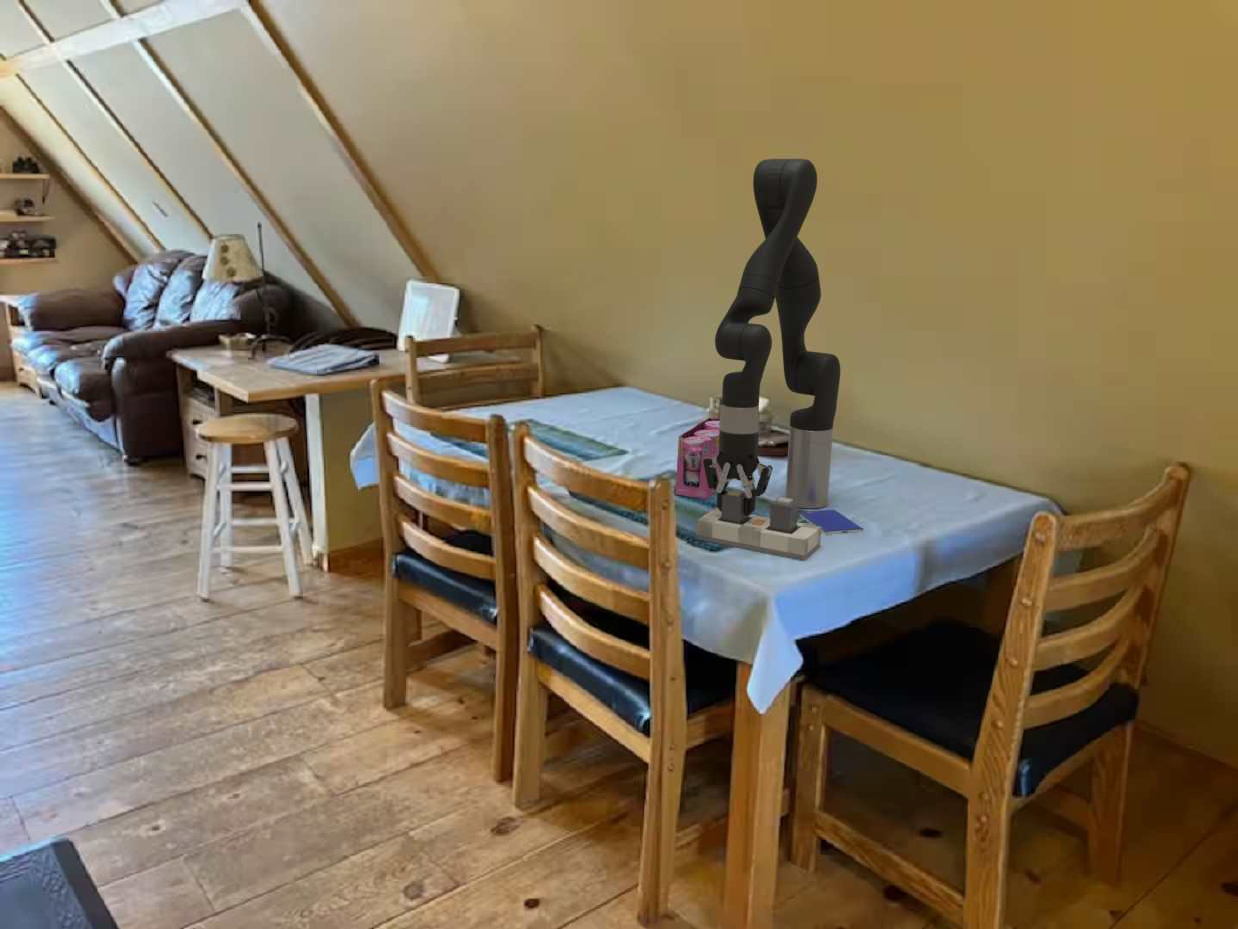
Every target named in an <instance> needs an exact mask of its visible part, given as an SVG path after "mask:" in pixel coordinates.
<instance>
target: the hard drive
mask: <svg viewBox="0 0 1238 929" xmlns="http://www.w3.org/2000/svg"><path fill="white" fill-rule="evenodd" d="M799 517H800V518H801V517H802V519H803V520H804V521H805V522H807V523H808V522H809V523H808V524H809V525H814V526H820V527H821V534H824V535H825V536H833V535H832V534H838V535H849V534H850V533H851V534H859V533H858V532H863V533H864V528H863V527H862V526H859V525H858V524H857V523H855V522H853V521H852V520H850V519H849V518H848V517H846V516H845V515H843V514H842V513H840V512H839V511H838V510H836V509H821V510H820V509H819V510H810V511H808V510H807V511H801V512H800V513H799ZM851 534H850V535H851Z"/></svg>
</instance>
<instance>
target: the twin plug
mask: <svg viewBox="0 0 1238 929" xmlns="http://www.w3.org/2000/svg"><path fill="white" fill-rule="evenodd" d="M798 503H799V502H797V501H793V499H789V498H785V497H779V498H777V499H776V500H774V501H773V502H772V503H770V512H769V513H770V514H769V516H770V529H769V530H772V531H777V532H782V533H788V534H793V533H794V532H795V531H796V530H797V522H798V515H799V507H798Z"/></svg>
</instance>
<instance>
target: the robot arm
mask: <svg viewBox="0 0 1238 929" xmlns="http://www.w3.org/2000/svg"><path fill="white" fill-rule="evenodd" d="M817 185H818V174H817V170H816V167H815V165H814V164H813V162H812V161H810V159H806V158H769V159H763V160H760V162H759V163H757V165H756V166H755V168H754V172H753V180H752V187H753V190H752V191H753V195H754V200H755V204H756V208H757V213H758V216H759V220H760V223H761V227H762V231H763V235H764V240H763V241H762V242H761V244H759V246H758V247H757V248H756V249H755V250H754V251H753V253H752V254H751V256H750V257H749V259H748V260H747V262H746V263H745V265H744V266H745V267H744V268H743V272H742V276H741V279H740V283H739V286H738V289H737V290H738V291H737V293H736V297H735V298H734V300H733V302H732V303H731V304H730V307H729V308H728V310H727V312H726V313H725V315H724V316H723V318H722V320H721V322H720V324H719V326H718V328H717V330H716V332H715V336H714V345H715V350H716V352H717V354H718V355H719V356H720V357H721V358H724V359H726V360H727V359H728V360H733V361H734V360H735V361H740V362H741V361H742V362H744V366H743V368H742V369H741V371H733V372H730V373H727V374H725V375H724V377H723V380H722V388H721V389H722V392H721V393H722V394H721V408H720V412H719V418H720V421H719V426H720V428H719V454H718V456H717V457H712V456H710V457H708V458H706V459H704V461H703V463H704V468H705V473H706V478H707V483H708V487H709V488H710V489H712V488H713V489H714V490H716V508H719V511H722V495H724V494H726V493H728V492H729V491H727V488H728V486H729V484H730V482H731V481H732V480H737V481H739V482H741V486H742V488H743V491H744V493H746V496H747V497H746V498H745V513H744V515H745V516H750V515H751V514H753V513H754V512H755V510H756V497H760V496H762V495H763V494H765V493H766V491H767V489H768V488H767V487H768V484H769V482H770V479H771V476H772V473H773V468H774V467H773V466H772V465H771V464H768V465H765V464H763V463H760V460H759V457H758V456H759V455H758V454H759V437H760V422H761V421H760V420H761V419H760V396H761V395H760V392H761V390H760V389H761V384H762V383H761V382H762V378H763V377H764V372H765V368H766V366H767V363H768V359H769V358H770V354H771V350H772V346H773V338H772V334H771V332H770V330H769V329H768V328H767V327H766V326H765V325H763V324H759V323H749V322H750V321H751V320H752V319H753V318H755V317H758V316H763V315H767V314H769V313H770V312H771V311H772V308H773V306H774V303H775V304H776V308H777V313H778V320H779V328H780V334H781V348H782V362H783V363H782V364H783V365H782V366H783V374H784V381H785V385H786V387H787V389H788V390H789V391H791V392H792V393H795V394H798V395H805V396H814V398H813V404H812V405H811V406H808V407H805V408H800V409H796V410H794V411H792V412H791V413H790V417H789V429H788V430H789V431H788V432H789V433H788V445H787V446H788V450H787V462H786V463H787V465H786V482H785V494H784V495H785V497H784V498H789V499H793V501H797V502H799V503H798V508H802V509H820V508H824V507H826V506H827V505H828V504H829V503H828V500H829V490H830V489H829V488H830V478H831V477H830V476H831V475H830V474H831V463H832V462H831V461H832V449H833V433H834V422H835V421H834V420H835V417H836V412H837V406H838V395H839V388H840V381H841V362H840V360H839V358H838V357H837V356H836V355H835V354H832V353H827V352H818V351H810V350H809V351H808V350H807V348H806V344H805V333H806V329H807V328H808V325H809V323H810V321H811V320H812V317H813V316H814V314H815V312H816V310H817V308H818V306H819V305H820V301H821V298H822V290H821V288H822V287H821V283H820V282H821V281H820V275H819V269H818V264H817V262H816V260H815V259H814V257H813V255H812V254H811V252H810V251H809V250H808V248H807V247H806V246H805V245H804V243H803V242H802V241H801V239H800V238H799V237H798V235H799V234H800V232H801V230H802V226H803V225H804V222H805V220H806V218H807V216H808V213H809V210H810V209H811V207H812V204H813V201H814V198H815V196H816V192H817V187H818V186H817ZM717 463H718V465H719V466H720V468H721V470H722V473H721V476H720V478H719V482H718V477H717V472H716V467H717ZM756 470H757V471H758V473H757V474H758V476H759V479H758V482H757V485H755V483H756V481H755V477H754V472H755V471H756ZM731 479H732V480H731Z"/></svg>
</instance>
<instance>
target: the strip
mask: <svg viewBox="0 0 1238 929" xmlns="http://www.w3.org/2000/svg"><path fill="white" fill-rule="evenodd" d="M721 515H722V511H719V508H718V507H716V508H714V509H712V510H710V511H709V512H708V513H706V514H704V515H703V516H701V517H700V518H698V519H697V520H696V540H699V541H703V540H704V541H705V542H709V543H713V544H720V545H723V546H730V547H734V548H737V549H738V548H739V549H744V550H749V551H754V552H759V553H764V554H768V555H773V556H774V555H775V556H779V557H783V558H788V559H794V560H799V561H805V560H806V559H808V557H810V556H811V555H813V553H814V552H816V551H817V550H818V549H819V548H820V547H821V536H822V532H821V527H820V526H814V525H811V524H810V523H803V522H798V521H797V530H796V531H795V532H794V533H793V534H788V533H782V532H777V531H772V530H769V529H770V517H769V516H765V515H757V514H753V513H752V514H751V515H750V516H749V520H748V521H747V522H746V523H744V524H743V525H740V524H734V523H729V522H724V521H721Z"/></svg>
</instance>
